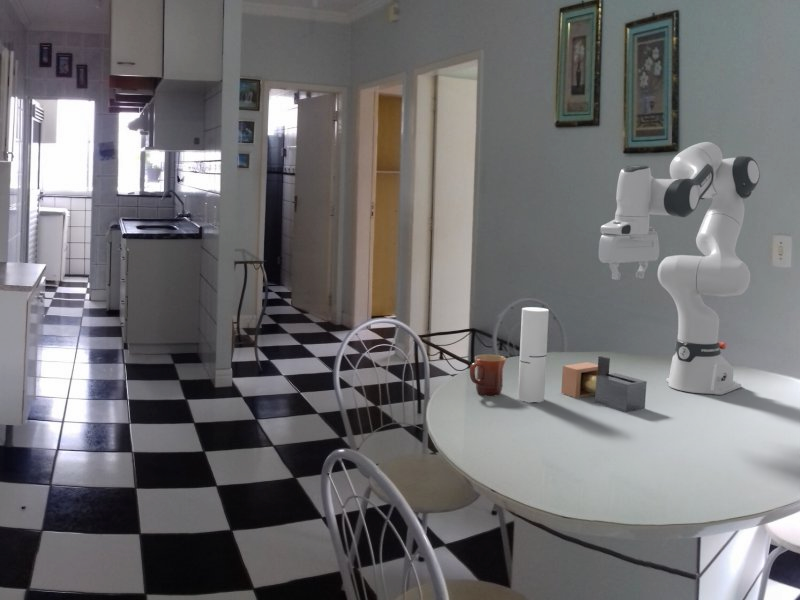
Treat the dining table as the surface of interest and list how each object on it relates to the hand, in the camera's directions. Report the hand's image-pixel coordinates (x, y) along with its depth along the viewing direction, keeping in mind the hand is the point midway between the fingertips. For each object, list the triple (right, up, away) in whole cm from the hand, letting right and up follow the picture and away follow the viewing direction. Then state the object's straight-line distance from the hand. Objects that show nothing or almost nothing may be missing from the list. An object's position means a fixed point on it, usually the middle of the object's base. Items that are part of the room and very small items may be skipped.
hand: (628, 278), depth 215 cm
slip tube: (-7, -32, +9) cm, 34 cm away
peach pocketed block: (-10, -32, +13) cm, 36 cm away
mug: (-37, -32, +9) cm, 50 cm away
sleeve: (-2, -34, +2) cm, 34 cm away
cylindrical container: (-25, -33, +5) cm, 42 cm away
